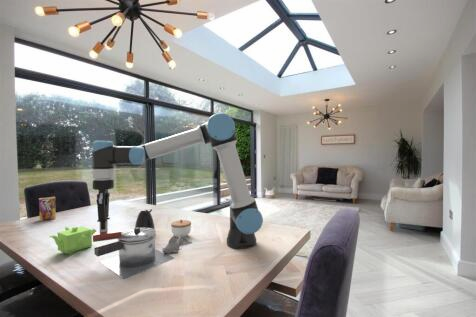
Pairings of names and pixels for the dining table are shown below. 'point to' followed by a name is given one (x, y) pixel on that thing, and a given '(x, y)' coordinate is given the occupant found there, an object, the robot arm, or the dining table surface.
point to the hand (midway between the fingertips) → (103, 236)
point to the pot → (130, 252)
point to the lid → (126, 235)
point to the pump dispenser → (145, 220)
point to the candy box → (47, 208)
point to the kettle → (74, 239)
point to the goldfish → (175, 244)
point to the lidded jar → (181, 228)
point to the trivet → (127, 272)
